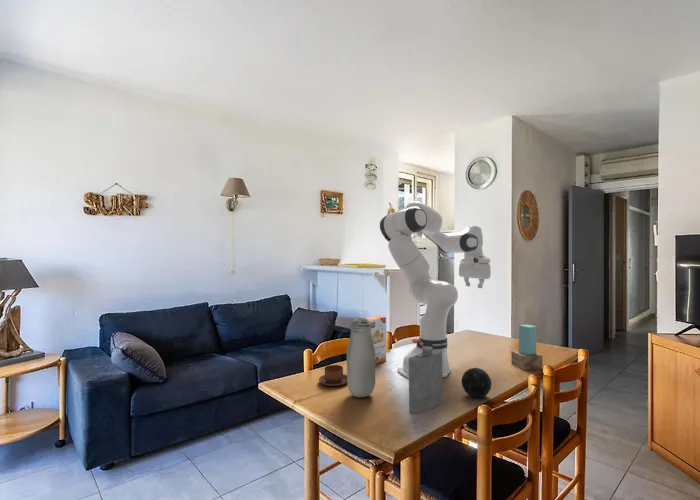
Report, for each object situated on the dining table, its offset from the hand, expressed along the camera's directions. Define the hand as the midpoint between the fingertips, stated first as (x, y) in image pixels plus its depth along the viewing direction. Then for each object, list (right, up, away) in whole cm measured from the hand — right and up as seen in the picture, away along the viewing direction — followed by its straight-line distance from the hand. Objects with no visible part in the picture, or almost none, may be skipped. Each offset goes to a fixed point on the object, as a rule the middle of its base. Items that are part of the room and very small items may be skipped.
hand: (473, 287), depth 191 cm
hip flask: (-35, -34, -61) cm, 78 cm away
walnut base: (+17, -33, -20) cm, 42 cm away
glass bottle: (-57, -35, -51) cm, 84 cm away
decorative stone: (-16, -34, -53) cm, 65 cm away
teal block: (+17, -27, -20) cm, 38 cm away
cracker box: (-50, -34, -11) cm, 62 cm away
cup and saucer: (-67, -35, -37) cm, 84 cm away
